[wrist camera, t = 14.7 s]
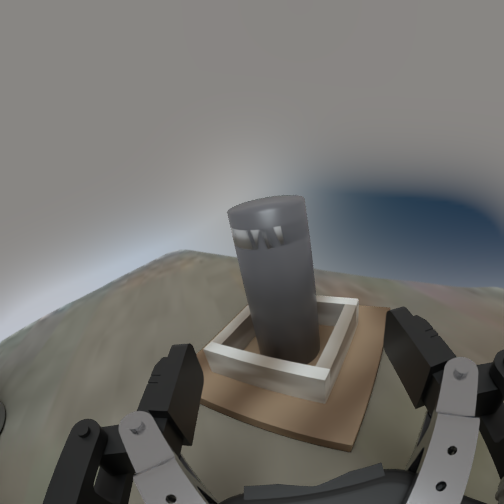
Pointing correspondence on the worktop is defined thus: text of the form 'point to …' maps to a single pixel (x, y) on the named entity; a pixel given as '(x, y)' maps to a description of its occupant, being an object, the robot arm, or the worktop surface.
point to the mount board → (299, 375)
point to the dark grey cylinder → (278, 275)
